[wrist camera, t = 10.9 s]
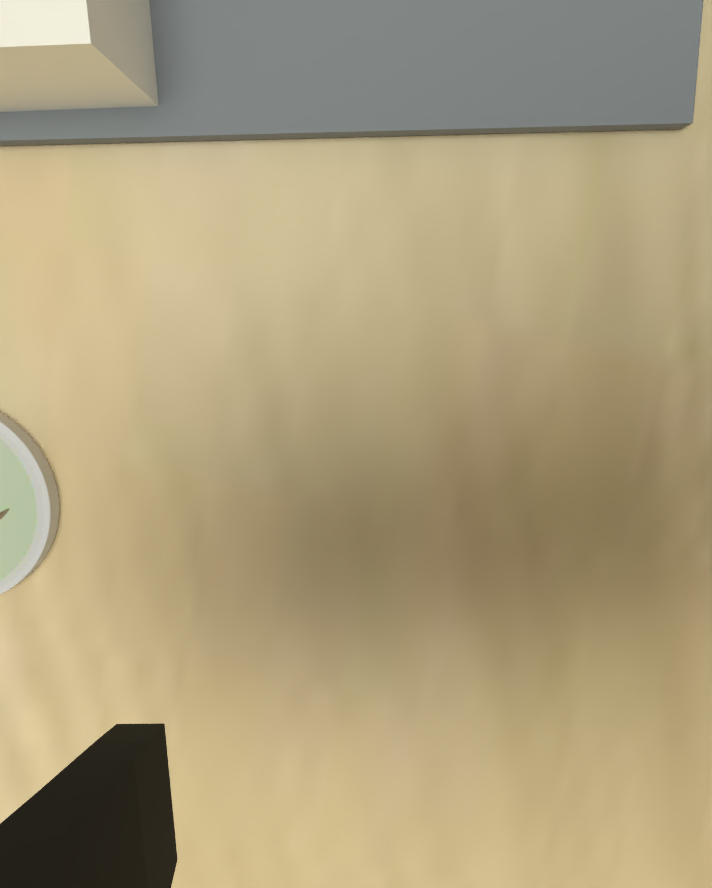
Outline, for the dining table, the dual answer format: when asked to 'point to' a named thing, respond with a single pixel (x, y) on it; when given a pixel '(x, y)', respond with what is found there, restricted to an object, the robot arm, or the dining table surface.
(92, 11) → the card box
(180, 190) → the dining table surface
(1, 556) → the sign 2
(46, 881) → the robot arm
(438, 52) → the mat
